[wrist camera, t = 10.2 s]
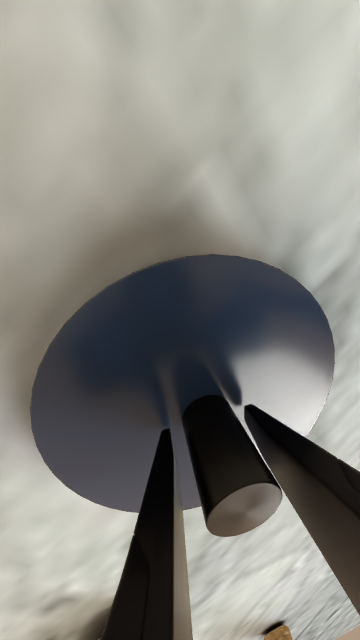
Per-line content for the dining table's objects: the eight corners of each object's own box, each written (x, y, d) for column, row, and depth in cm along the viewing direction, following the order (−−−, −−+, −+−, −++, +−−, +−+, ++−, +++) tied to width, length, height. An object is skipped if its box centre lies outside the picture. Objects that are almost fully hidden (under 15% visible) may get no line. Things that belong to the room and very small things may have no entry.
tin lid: (334, 234, 8) (557, 196, 4) (303, 449, 13) (381, 540, 9) (-28, 289, 6) (-498, 352, 2) (101, 520, 11) (72, 686, 7)
